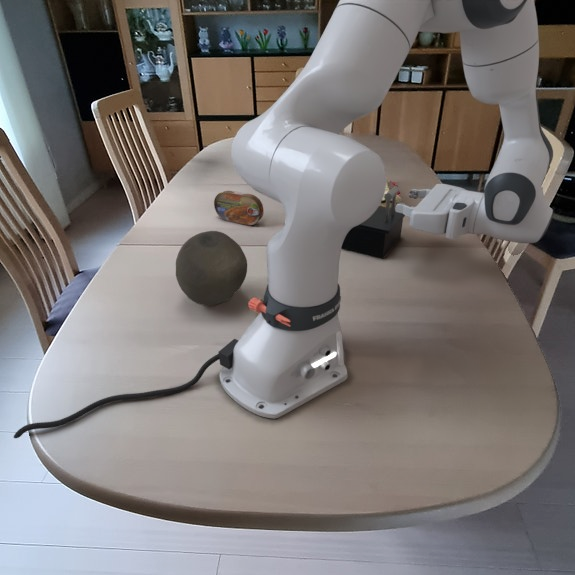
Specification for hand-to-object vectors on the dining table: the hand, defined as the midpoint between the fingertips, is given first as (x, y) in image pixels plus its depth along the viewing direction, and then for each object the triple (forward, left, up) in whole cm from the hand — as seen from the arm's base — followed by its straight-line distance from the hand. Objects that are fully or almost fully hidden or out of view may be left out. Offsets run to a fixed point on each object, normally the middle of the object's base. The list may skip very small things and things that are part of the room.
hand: (403, 199), depth 103 cm
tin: (-15, +42, -13) cm, 47 cm away
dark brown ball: (-44, +16, -13) cm, 49 cm away
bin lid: (-2, +9, -6) cm, 11 cm away
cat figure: (+26, +22, -13) cm, 37 cm away
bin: (-2, +9, -13) cm, 16 cm away
